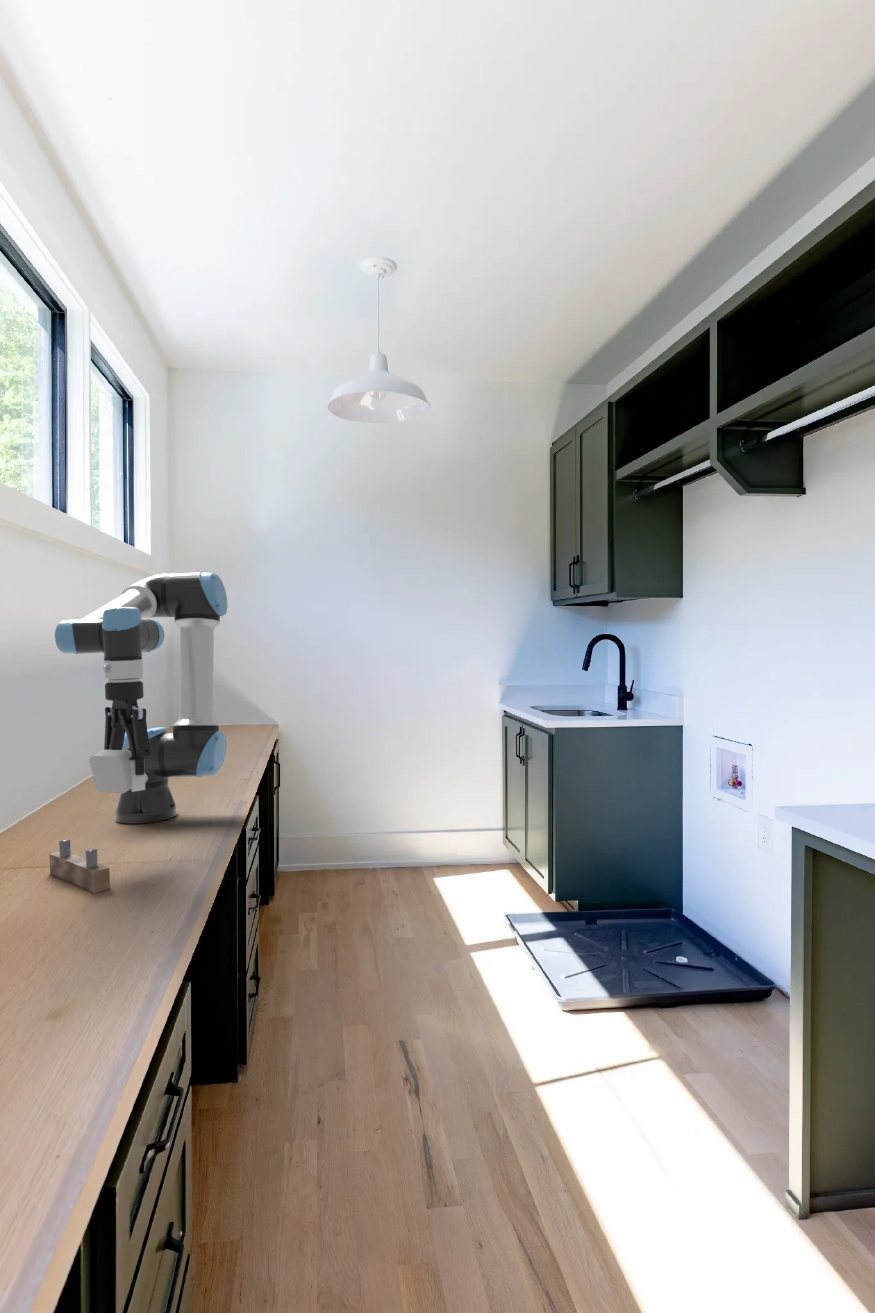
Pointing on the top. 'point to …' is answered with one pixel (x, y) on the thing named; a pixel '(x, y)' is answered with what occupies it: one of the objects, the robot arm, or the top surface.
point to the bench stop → (79, 868)
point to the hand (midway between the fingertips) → (128, 788)
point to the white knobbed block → (112, 771)
